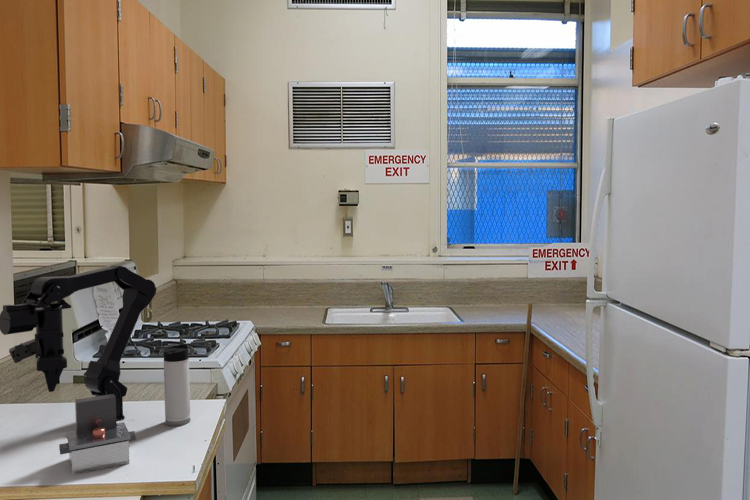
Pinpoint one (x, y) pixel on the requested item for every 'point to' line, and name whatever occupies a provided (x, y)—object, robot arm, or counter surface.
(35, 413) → the counter surface
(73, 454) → the grey box with handles
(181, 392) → the travel mug
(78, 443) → the lid
